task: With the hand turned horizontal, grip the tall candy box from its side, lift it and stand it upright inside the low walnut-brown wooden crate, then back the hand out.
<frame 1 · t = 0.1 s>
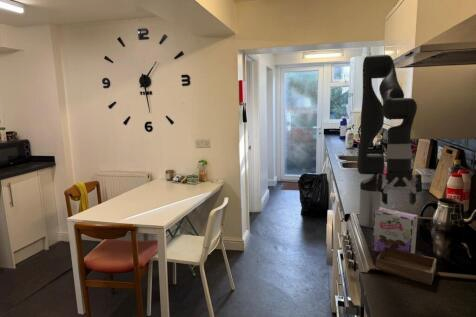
hand: (398, 204, 112), 22 cm above the counter, tool pointing down, fingers open, 8 cm apart
candy box: (392, 254, 123), on the counter
crate: (405, 269, 111), on the counter
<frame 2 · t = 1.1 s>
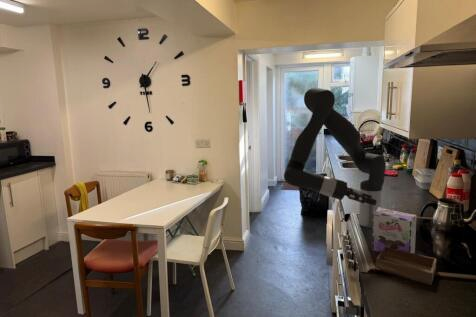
hand: (373, 200, 127), 19 cm above the counter, tool tilted 70°, fingers open, 8 cm apart
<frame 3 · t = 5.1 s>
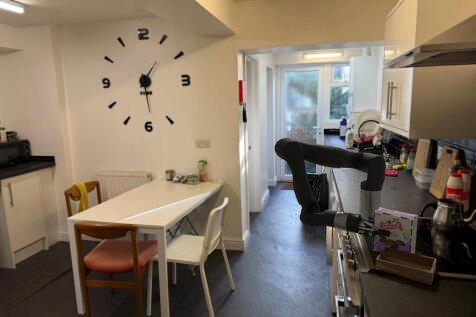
hand: (392, 230, 122), 9 cm above the counter, tool horizontal, fingers open, 7 cm apart
candy box: (392, 254, 123), on the counter, touching gripper
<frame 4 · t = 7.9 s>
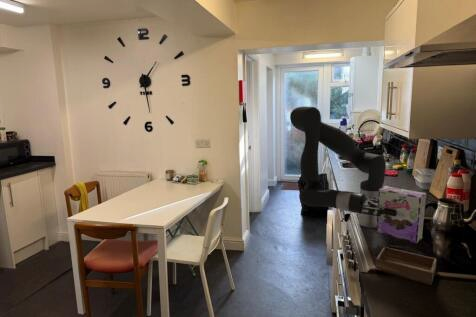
hand: (398, 210, 113), 20 cm above the counter, tool horizontal, fingers closed on candy box, 6 cm apart
candy box: (398, 235, 114), point 10 cm above the counter, touching gripper
when the fingers open (11 cm above the counter, at t = 10.4 s): candy box drops 1 cm, resting on crate.
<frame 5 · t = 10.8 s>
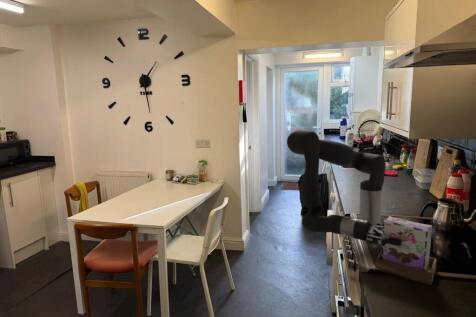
hand: (403, 238, 110), 11 cm above the counter, tool horizontal, fingers open, 8 cm apart
candy box: (403, 268, 111), point 1 cm above the counter, touching crate
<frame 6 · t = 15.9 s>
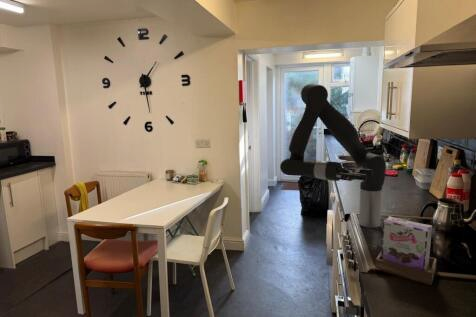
hand: (369, 175, 121), 30 cm above the counter, tool horizontal, fingers open, 8 cm apart
nothing on the counter moved.
at the end: candy box 0.6 cm off-centre on the crate, point 0.6 cm above the crate's base; candy box tilted 0°; the gripper is holding nothing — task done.
